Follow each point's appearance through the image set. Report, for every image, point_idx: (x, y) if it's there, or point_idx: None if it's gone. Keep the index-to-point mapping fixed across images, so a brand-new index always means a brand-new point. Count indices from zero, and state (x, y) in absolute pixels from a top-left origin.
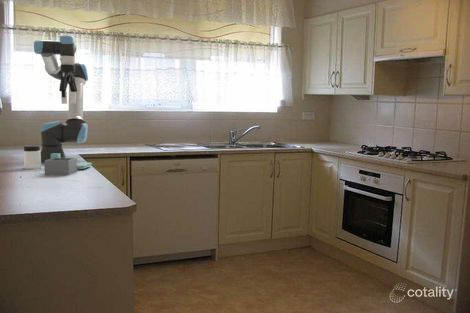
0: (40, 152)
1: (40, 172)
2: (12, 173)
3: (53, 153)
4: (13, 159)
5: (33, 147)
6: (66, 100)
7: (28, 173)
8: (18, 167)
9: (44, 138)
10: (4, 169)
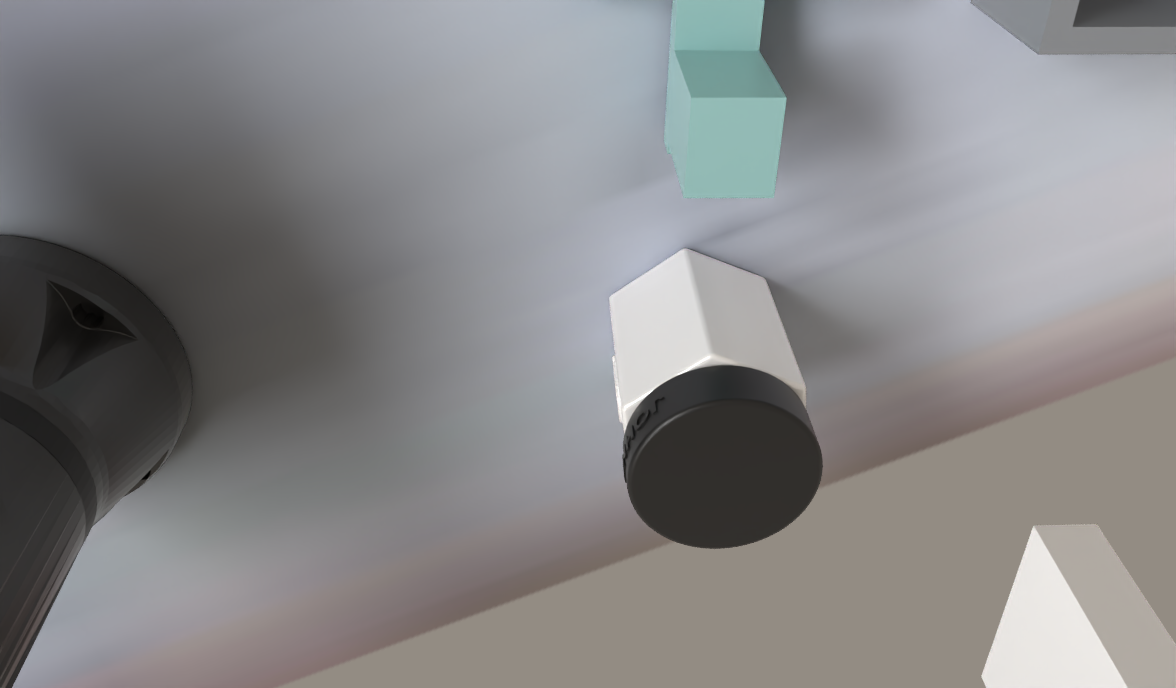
0: (711, 342)
1: (1048, 118)
2: (1069, 342)
3: (708, 185)
4: (116, 685)
5: (810, 426)
6: (1169, 645)
7: (1101, 207)
8: None
9: (49, 601)
10: None
